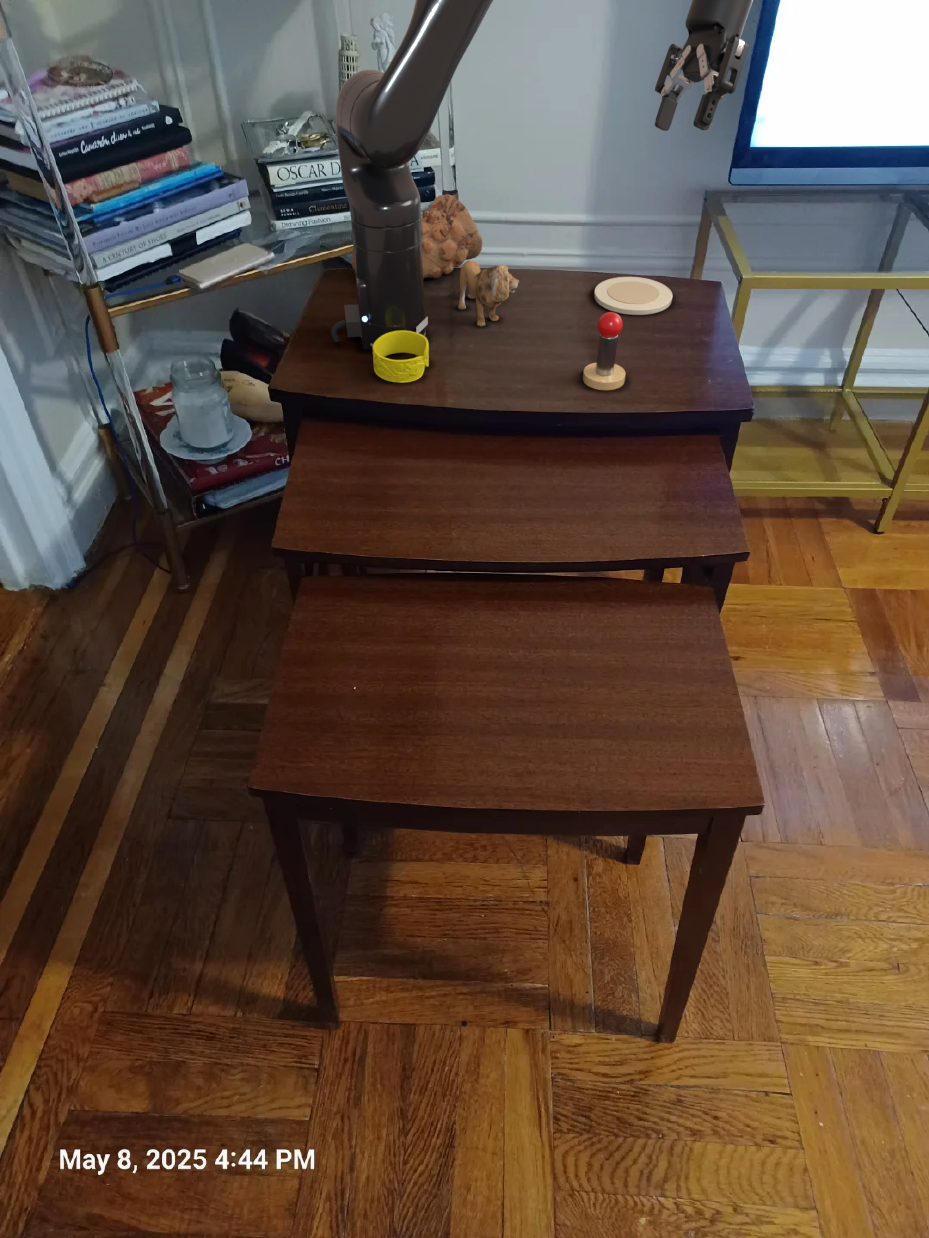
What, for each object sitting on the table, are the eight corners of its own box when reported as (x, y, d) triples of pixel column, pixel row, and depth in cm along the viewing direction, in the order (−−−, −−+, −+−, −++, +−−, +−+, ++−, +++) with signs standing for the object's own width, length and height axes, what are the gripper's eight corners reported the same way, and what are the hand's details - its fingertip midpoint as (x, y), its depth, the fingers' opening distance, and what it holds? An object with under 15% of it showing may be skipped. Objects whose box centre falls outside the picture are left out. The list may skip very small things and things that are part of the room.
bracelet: (365, 377, 119) (364, 355, 117) (386, 347, 125) (385, 326, 122) (416, 387, 118) (416, 365, 116) (435, 356, 123) (435, 335, 121)
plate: (605, 317, 132) (605, 312, 132) (585, 284, 141) (586, 278, 140) (682, 312, 134) (683, 306, 133) (658, 279, 142) (659, 273, 142)
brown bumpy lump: (463, 318, 144) (494, 239, 146) (456, 281, 133) (489, 196, 136) (358, 289, 147) (390, 212, 149) (342, 250, 136) (377, 168, 139)
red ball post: (588, 392, 117) (595, 324, 110) (578, 371, 121) (584, 305, 114) (629, 389, 117) (639, 321, 111) (618, 368, 121) (626, 302, 115)
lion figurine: (521, 327, 130) (524, 266, 124) (491, 336, 128) (493, 275, 122) (466, 291, 139) (466, 233, 133) (437, 299, 137) (436, 240, 131)
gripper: (669, -12, 119) (628, 120, 124) (741, -28, 107) (693, 117, 113) (710, 12, 122) (668, 139, 128) (783, -2, 111) (734, 138, 116)
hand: (680, 128), depth 120 cm, fingers open, 8 cm apart
